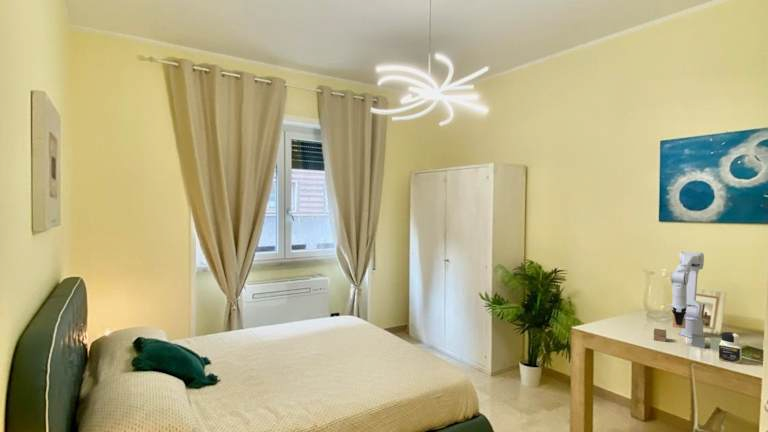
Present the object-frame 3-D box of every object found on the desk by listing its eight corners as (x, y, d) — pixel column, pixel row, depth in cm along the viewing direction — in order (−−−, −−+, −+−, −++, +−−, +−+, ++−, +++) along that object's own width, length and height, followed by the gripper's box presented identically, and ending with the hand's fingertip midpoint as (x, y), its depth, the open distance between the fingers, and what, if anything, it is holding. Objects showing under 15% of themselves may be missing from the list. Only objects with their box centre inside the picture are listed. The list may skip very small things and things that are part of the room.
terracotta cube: (673, 324, 207) (673, 314, 206) (685, 326, 204) (685, 316, 203) (672, 327, 203) (672, 317, 202) (685, 328, 200) (685, 318, 199)
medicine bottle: (718, 360, 182) (718, 333, 182) (720, 355, 188) (721, 329, 187) (739, 364, 177) (740, 336, 177) (741, 359, 182) (741, 333, 182)
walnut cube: (654, 337, 214) (654, 328, 214) (666, 339, 211) (666, 330, 211) (653, 340, 210) (653, 330, 210) (665, 342, 207) (665, 332, 207)
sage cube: (710, 347, 199) (710, 336, 199) (723, 349, 196) (723, 338, 196) (710, 349, 195) (710, 339, 195) (724, 352, 192) (724, 341, 192)
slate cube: (692, 343, 204) (692, 333, 204) (704, 345, 201) (704, 335, 201) (691, 346, 200) (691, 336, 200) (704, 348, 197) (704, 338, 197)
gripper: (670, 292, 211) (670, 318, 211) (668, 297, 199) (668, 325, 200) (687, 294, 207) (687, 321, 207) (686, 299, 195) (686, 328, 195)
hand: (679, 323), depth 203 cm, fingers closed on terracotta cube, 5 cm apart
